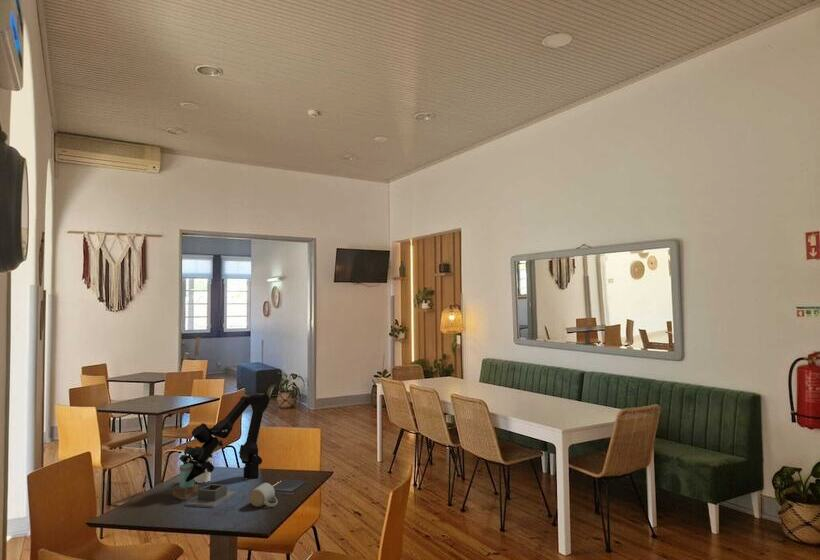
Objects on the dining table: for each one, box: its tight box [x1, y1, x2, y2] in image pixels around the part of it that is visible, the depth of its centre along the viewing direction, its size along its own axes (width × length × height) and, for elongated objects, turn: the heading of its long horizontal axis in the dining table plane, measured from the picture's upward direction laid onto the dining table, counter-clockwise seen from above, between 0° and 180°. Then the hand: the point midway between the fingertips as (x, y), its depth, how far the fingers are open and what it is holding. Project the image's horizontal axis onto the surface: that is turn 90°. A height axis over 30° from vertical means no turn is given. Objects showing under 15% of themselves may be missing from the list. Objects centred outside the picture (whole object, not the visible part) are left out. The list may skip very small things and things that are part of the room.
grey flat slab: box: [272, 478, 310, 495], centre depth 246 cm, size 20×2×15 cm
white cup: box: [194, 457, 213, 484], centre depth 257 cm, size 8×8×10 cm
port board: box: [186, 483, 237, 509], centre depth 230 cm, size 18×12×5 cm, turn 168°
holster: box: [172, 483, 201, 501], centre depth 236 cm, size 8×7×4 cm
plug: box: [179, 463, 195, 489], centre depth 236 cm, size 4×4×13 cm
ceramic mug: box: [249, 482, 279, 508], centre depth 224 cm, size 11×8×8 cm
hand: (183, 480), depth 235 cm, fingers closed on plug, 4 cm apart
